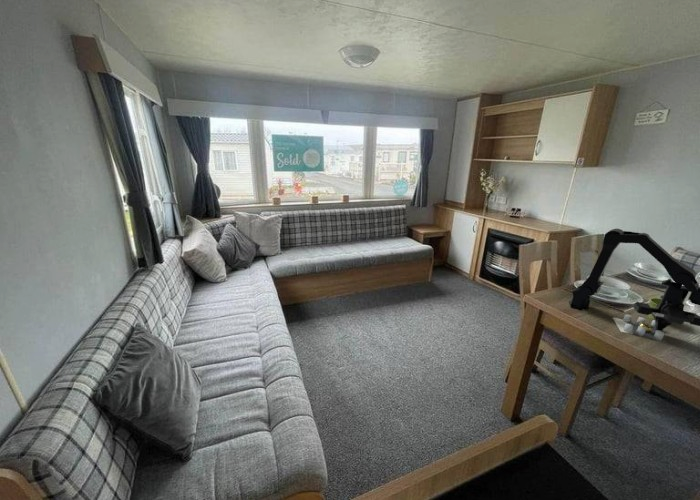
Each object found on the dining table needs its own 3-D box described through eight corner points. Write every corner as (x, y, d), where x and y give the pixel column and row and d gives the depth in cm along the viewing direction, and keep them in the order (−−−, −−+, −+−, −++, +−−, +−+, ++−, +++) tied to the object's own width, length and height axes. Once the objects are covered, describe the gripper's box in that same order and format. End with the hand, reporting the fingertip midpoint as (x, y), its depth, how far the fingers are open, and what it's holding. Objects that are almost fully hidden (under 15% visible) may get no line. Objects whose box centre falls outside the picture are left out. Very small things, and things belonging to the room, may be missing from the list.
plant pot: (663, 327, 125) (671, 310, 122) (637, 315, 134) (644, 299, 131) (677, 324, 128) (685, 307, 125) (651, 313, 136) (658, 296, 133)
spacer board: (620, 332, 121) (623, 325, 120) (611, 318, 131) (614, 311, 130) (667, 343, 115) (671, 336, 113) (655, 328, 125) (658, 320, 123)
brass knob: (639, 331, 121) (641, 326, 120) (635, 326, 124) (638, 321, 124) (651, 334, 119) (654, 328, 118) (648, 329, 123) (650, 323, 122)
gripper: (650, 300, 112) (635, 334, 117) (719, 314, 104) (700, 349, 109) (639, 288, 121) (626, 320, 126) (702, 300, 113) (685, 333, 118)
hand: (658, 330), depth 120 cm, fingers closed
